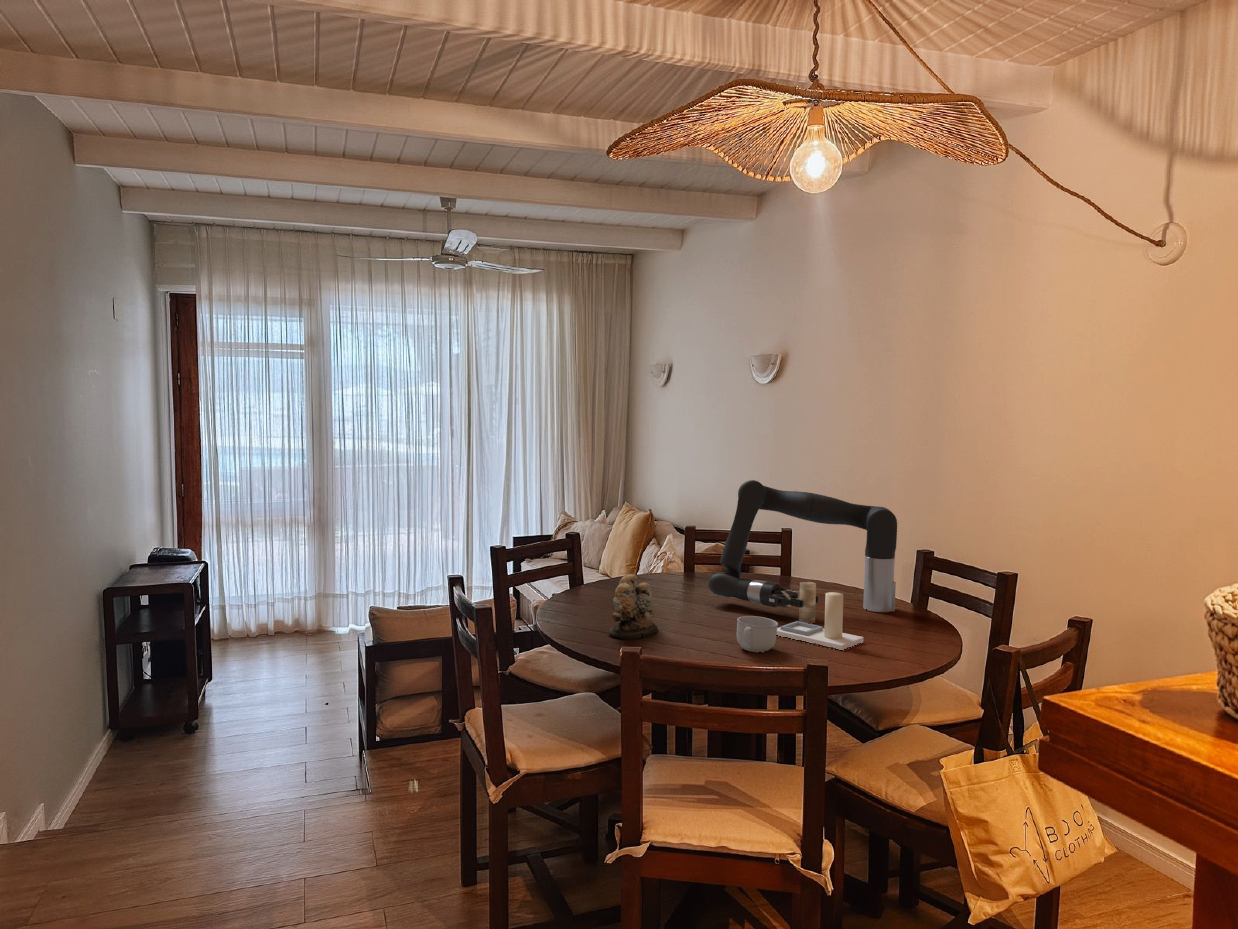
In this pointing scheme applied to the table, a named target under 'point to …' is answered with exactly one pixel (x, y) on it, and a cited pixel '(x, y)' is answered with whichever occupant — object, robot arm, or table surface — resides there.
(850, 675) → the table surface
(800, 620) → the maple post
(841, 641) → the board
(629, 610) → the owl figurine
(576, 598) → the table surface
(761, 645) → the teacup
